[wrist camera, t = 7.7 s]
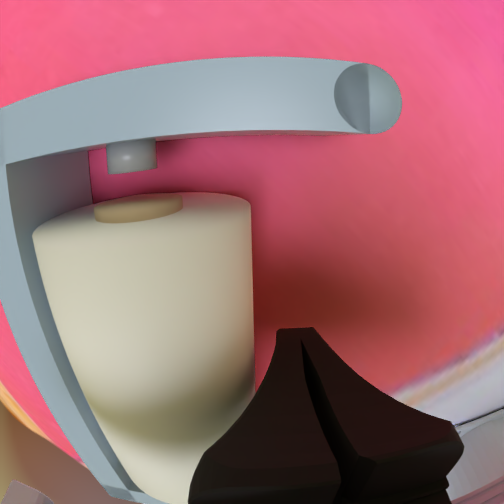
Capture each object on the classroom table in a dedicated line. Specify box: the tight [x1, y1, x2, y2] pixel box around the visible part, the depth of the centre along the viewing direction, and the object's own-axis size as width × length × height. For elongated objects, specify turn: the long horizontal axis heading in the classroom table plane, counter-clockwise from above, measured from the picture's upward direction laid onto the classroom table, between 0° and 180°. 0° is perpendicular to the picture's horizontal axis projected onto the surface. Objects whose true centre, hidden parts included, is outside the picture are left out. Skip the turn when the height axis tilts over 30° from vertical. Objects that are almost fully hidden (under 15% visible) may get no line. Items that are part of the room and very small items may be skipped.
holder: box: [0, 57, 402, 504], centre depth 11 cm, size 15×18×5 cm
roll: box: [32, 192, 255, 504], centre depth 10 cm, size 12×6×6 cm
